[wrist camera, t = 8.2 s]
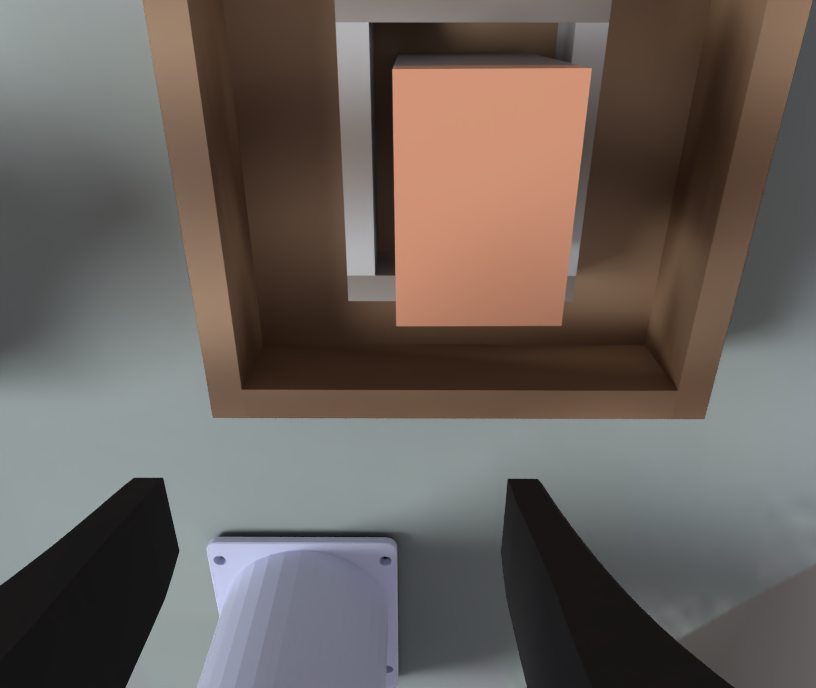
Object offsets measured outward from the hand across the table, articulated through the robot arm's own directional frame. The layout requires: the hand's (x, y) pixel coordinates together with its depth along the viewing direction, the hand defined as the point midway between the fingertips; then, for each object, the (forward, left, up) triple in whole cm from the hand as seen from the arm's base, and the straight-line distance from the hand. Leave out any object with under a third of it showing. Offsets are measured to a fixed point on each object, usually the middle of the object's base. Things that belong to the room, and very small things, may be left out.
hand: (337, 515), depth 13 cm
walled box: (+6, -3, -10) cm, 12 cm away
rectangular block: (+6, -3, -9) cm, 11 cm away
